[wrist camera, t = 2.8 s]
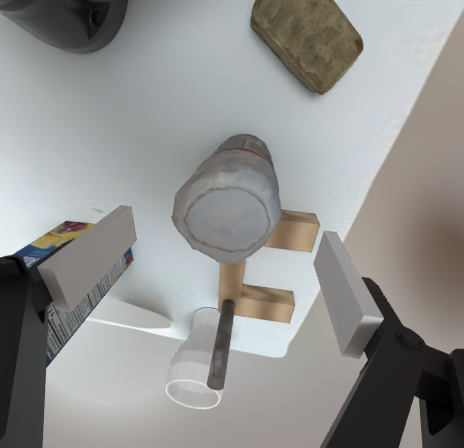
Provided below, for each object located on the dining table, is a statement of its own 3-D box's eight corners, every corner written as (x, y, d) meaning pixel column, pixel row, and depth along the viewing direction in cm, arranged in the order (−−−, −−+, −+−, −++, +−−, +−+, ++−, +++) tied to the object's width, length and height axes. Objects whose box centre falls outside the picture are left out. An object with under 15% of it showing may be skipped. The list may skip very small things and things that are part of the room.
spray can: (217, 126, 31) (159, 163, 13) (277, 133, 30) (297, 180, 13) (214, 185, 35) (167, 270, 18) (267, 192, 34) (271, 286, 17)
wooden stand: (220, 298, 47) (200, 393, 32) (227, 203, 36) (201, 279, 21) (287, 308, 46) (299, 411, 31) (315, 213, 35) (354, 301, 20)
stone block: (315, 99, 28) (324, 98, 24) (246, 24, 25) (242, 9, 21) (356, 54, 25) (374, 44, 21) (284, -34, 23) (288, -65, 19)
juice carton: (77, 252, 46) (-78, 382, 25) (66, 220, 42) (-128, 341, 21) (133, 259, 45) (21, 400, 24) (127, 227, 41) (-13, 360, 20)
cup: (238, 333, 52) (230, 411, 39) (195, 334, 54) (174, 409, 41) (227, 301, 47) (214, 378, 34) (181, 304, 49) (152, 377, 36)
